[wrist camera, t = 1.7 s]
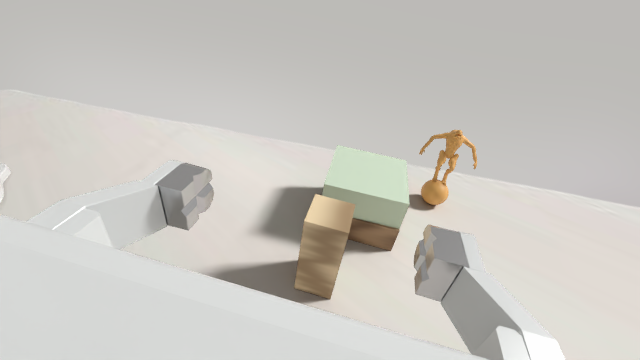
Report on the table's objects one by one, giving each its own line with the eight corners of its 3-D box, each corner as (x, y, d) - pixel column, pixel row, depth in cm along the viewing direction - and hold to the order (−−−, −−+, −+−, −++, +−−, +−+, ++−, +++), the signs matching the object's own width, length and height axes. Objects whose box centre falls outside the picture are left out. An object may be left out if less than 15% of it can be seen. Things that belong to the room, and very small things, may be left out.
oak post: (294, 288, 31) (304, 220, 25) (304, 259, 34) (315, 193, 28) (330, 299, 31) (349, 233, 25) (337, 269, 34) (355, 204, 28)
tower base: (315, 232, 39) (319, 209, 36) (330, 189, 47) (334, 168, 44) (390, 252, 37) (399, 231, 35) (392, 205, 45) (399, 184, 43)
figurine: (403, 201, 46) (430, 133, 39) (406, 181, 51) (431, 117, 44) (457, 217, 45) (495, 150, 38) (454, 195, 49) (488, 131, 42)
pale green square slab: (319, 209, 36) (324, 184, 34) (332, 167, 44) (337, 145, 42) (399, 229, 35) (409, 204, 33) (398, 183, 43) (406, 160, 41)
